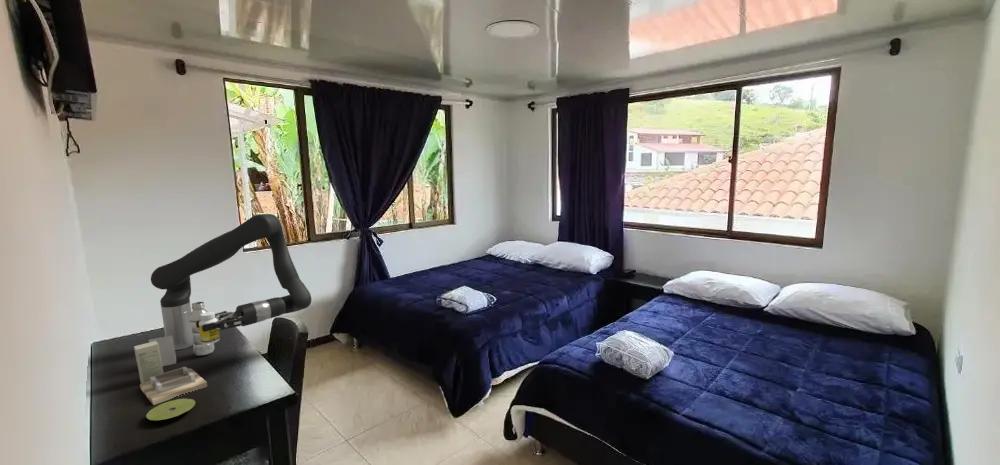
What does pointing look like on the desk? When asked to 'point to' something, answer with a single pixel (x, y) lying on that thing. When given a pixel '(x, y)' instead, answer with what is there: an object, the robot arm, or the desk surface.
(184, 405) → the green disc with hole
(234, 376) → the desk surface
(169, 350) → the tea bag
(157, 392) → the socket board
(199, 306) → the plastic bottle
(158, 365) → the skincare box
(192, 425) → the desk surface
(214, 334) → the supplement bottle
